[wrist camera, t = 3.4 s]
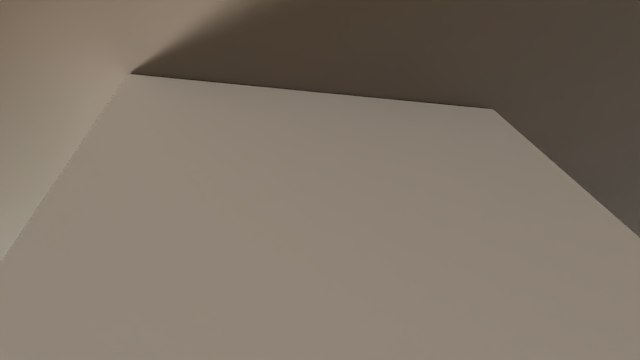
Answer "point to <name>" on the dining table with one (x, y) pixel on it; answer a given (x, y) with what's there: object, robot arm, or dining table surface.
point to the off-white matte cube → (314, 237)
